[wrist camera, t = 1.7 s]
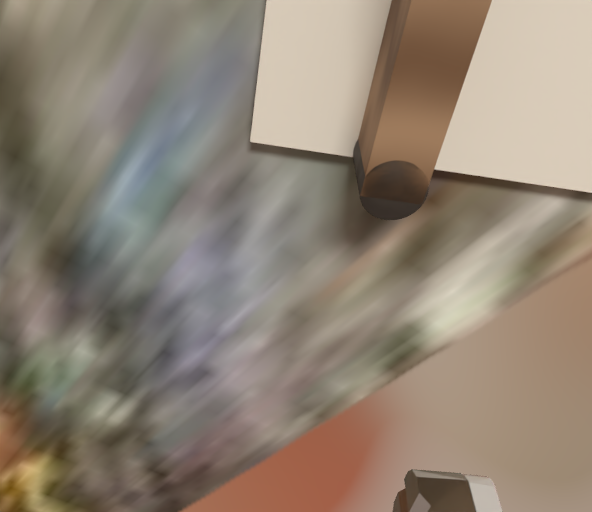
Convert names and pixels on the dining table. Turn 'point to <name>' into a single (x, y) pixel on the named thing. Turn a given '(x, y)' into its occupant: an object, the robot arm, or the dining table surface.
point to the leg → (413, 100)
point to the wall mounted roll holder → (472, 100)
